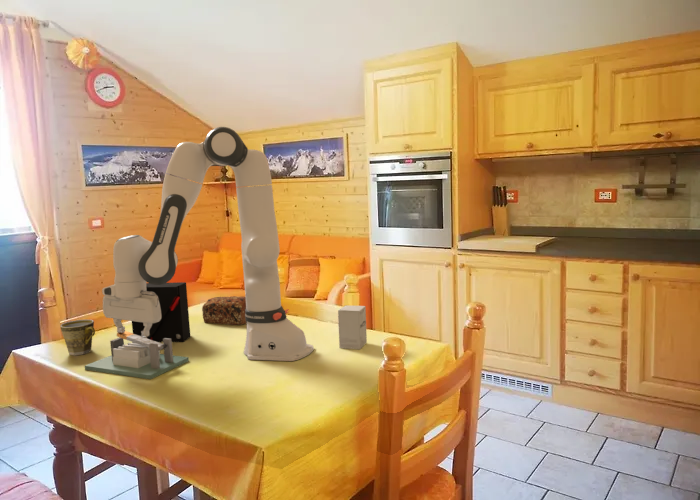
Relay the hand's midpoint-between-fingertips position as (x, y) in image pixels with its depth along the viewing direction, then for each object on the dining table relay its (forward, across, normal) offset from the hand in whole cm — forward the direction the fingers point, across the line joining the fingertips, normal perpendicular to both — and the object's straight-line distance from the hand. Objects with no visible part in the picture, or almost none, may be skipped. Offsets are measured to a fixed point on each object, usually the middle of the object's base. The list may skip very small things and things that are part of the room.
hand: (133, 334), depth 162 cm
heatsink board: (+10, 0, -1) cm, 10 cm away
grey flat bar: (+2, -2, -1) cm, 3 cm away
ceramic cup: (+11, +28, -5) cm, 30 cm away
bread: (+9, +4, -53) cm, 54 cm away
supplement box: (+8, -56, -38) cm, 68 cm away
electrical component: (+10, +12, -25) cm, 29 cm away
